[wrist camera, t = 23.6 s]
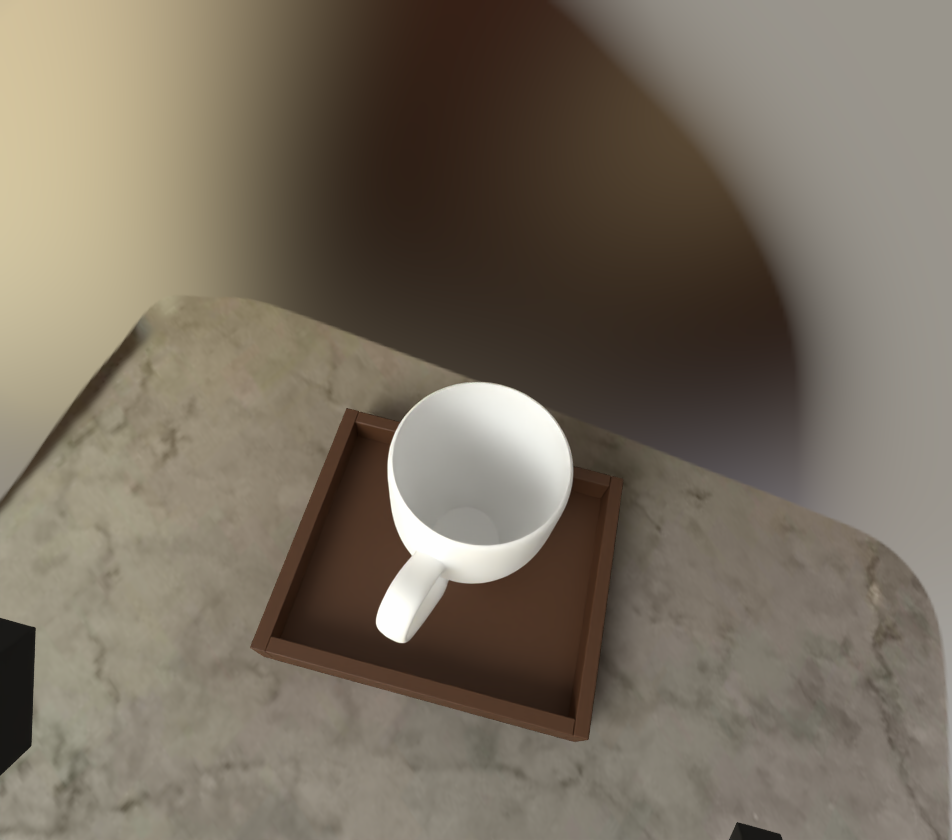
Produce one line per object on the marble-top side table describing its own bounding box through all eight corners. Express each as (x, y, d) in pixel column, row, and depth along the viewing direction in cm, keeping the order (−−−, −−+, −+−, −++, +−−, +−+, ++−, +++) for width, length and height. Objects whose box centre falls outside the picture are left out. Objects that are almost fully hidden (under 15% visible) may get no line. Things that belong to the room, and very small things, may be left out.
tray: (610, 496, 40) (624, 478, 38) (575, 742, 33) (588, 740, 31) (351, 430, 41) (346, 407, 38) (262, 656, 34) (249, 647, 31)
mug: (440, 453, 40) (448, 350, 30) (556, 516, 38) (605, 430, 28) (329, 621, 34) (293, 564, 24) (460, 702, 33) (478, 676, 23)
